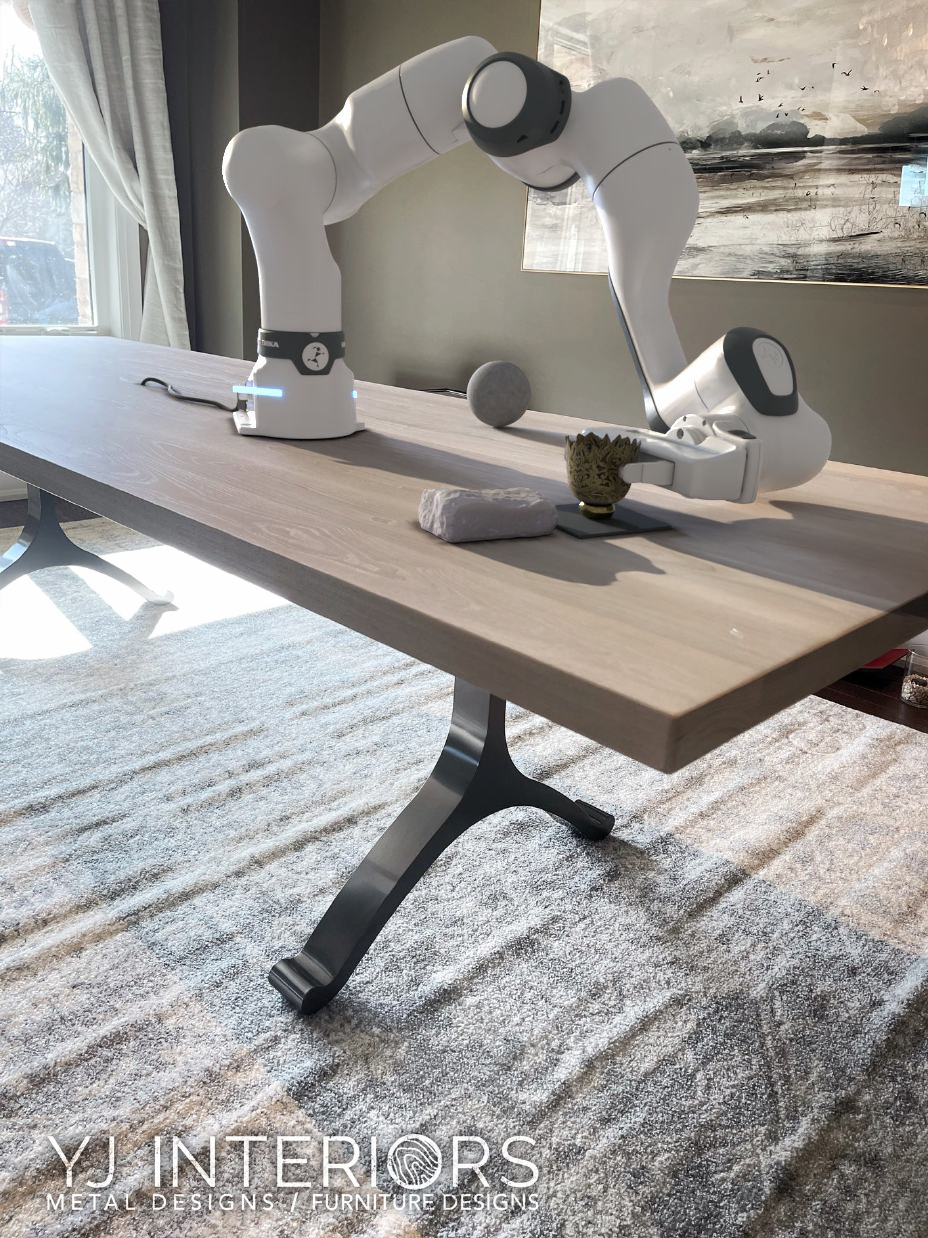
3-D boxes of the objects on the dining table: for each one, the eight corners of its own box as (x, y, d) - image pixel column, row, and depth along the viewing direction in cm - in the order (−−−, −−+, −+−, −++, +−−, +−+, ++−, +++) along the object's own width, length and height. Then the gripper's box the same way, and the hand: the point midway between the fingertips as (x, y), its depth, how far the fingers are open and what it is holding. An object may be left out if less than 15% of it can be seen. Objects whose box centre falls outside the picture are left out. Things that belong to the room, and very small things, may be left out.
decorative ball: (505, 419, 156) (509, 356, 152) (541, 429, 148) (546, 363, 144) (453, 422, 151) (456, 357, 147) (487, 433, 143) (491, 364, 139)
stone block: (408, 536, 94) (447, 543, 85) (408, 487, 93) (446, 489, 84) (516, 532, 99) (563, 539, 90) (516, 486, 98) (564, 488, 89)
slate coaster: (521, 510, 99) (521, 508, 99) (607, 503, 104) (608, 500, 103) (579, 538, 90) (580, 535, 90) (671, 528, 95) (672, 525, 94)
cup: (590, 504, 102) (597, 429, 99) (647, 518, 97) (656, 440, 94) (544, 514, 97) (550, 435, 94) (602, 530, 92) (610, 447, 89)
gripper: (645, 411, 108) (541, 415, 102) (776, 443, 91) (660, 450, 85) (639, 466, 110) (537, 473, 104) (765, 507, 93) (653, 518, 87)
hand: (593, 463), depth 94 cm, fingers open, 8 cm apart
